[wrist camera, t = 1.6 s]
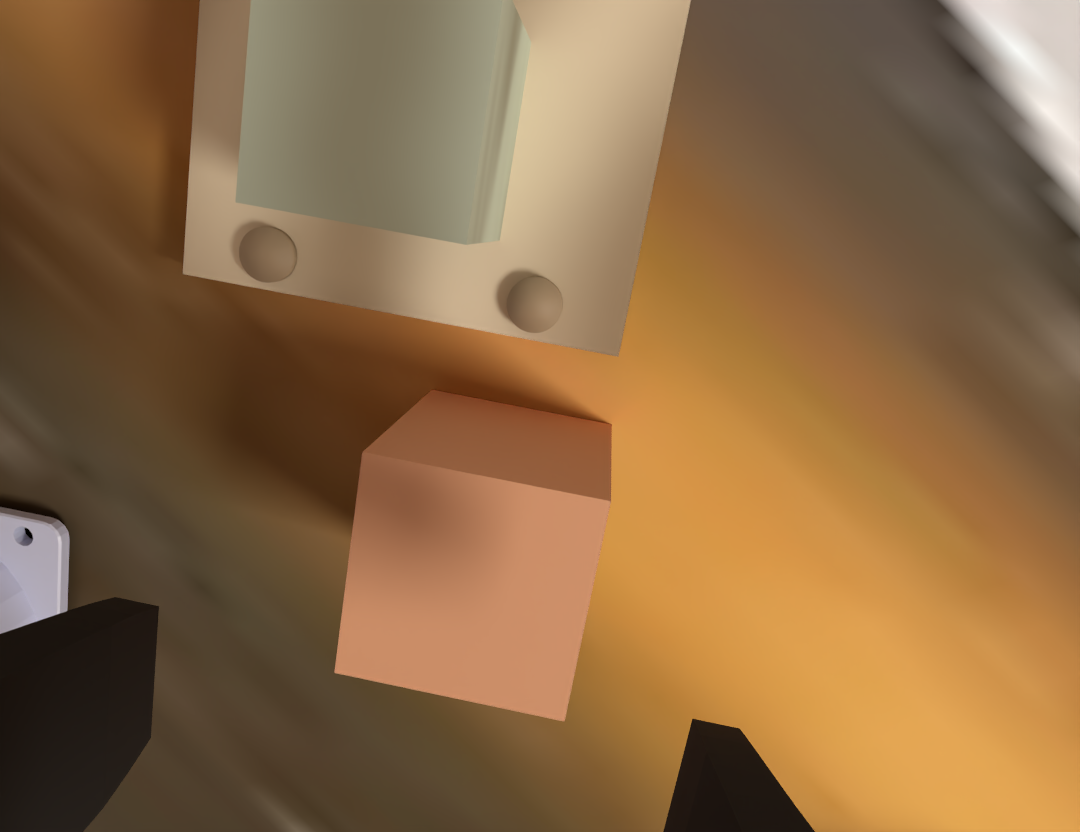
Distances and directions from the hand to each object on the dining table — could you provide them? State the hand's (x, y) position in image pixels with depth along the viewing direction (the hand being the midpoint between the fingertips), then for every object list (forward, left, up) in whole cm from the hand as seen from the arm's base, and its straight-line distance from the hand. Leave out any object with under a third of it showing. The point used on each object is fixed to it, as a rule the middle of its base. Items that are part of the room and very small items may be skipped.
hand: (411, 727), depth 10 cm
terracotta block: (0, 0, -10) cm, 10 cm away
